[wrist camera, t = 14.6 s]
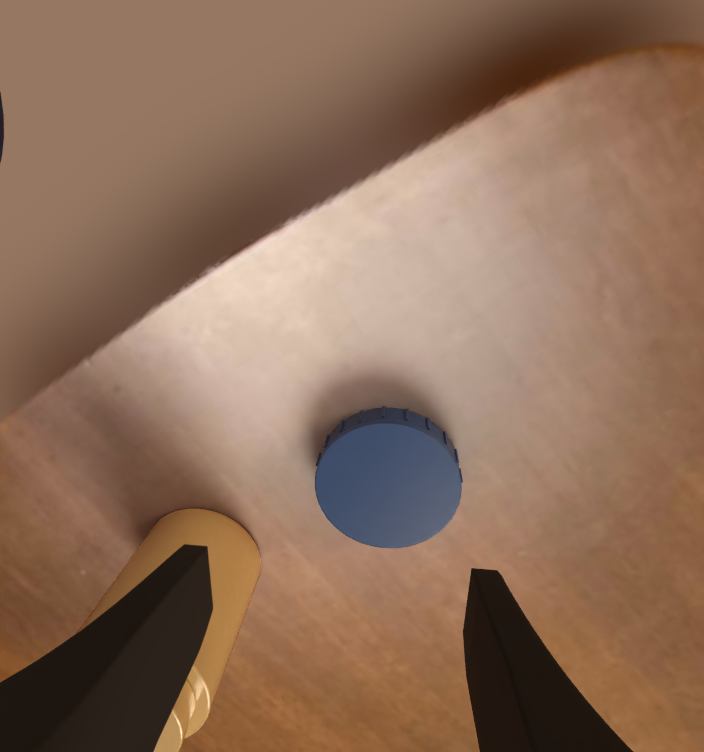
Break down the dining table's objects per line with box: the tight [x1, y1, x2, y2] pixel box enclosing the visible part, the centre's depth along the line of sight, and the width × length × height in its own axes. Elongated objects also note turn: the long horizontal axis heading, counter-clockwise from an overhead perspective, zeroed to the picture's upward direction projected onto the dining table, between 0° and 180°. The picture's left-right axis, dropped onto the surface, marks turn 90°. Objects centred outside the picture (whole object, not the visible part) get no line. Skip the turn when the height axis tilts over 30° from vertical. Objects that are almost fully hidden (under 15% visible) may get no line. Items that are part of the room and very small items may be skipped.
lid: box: [315, 406, 463, 548], centre depth 22 cm, size 6×6×1 cm
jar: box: [76, 508, 261, 752], centre depth 21 cm, size 6×6×8 cm
